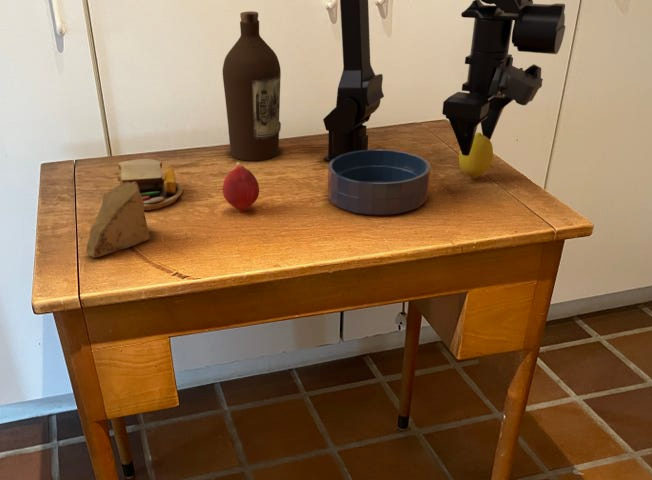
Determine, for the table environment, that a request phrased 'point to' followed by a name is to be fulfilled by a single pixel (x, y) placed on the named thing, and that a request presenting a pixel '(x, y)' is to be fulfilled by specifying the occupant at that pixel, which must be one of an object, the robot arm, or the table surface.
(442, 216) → the table surface
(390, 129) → the table surface
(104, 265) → the table surface
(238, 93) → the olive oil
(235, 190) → the onion
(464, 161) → the lemon
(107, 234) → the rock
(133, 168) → the toy sandwich meal
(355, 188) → the bowl
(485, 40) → the robot arm
